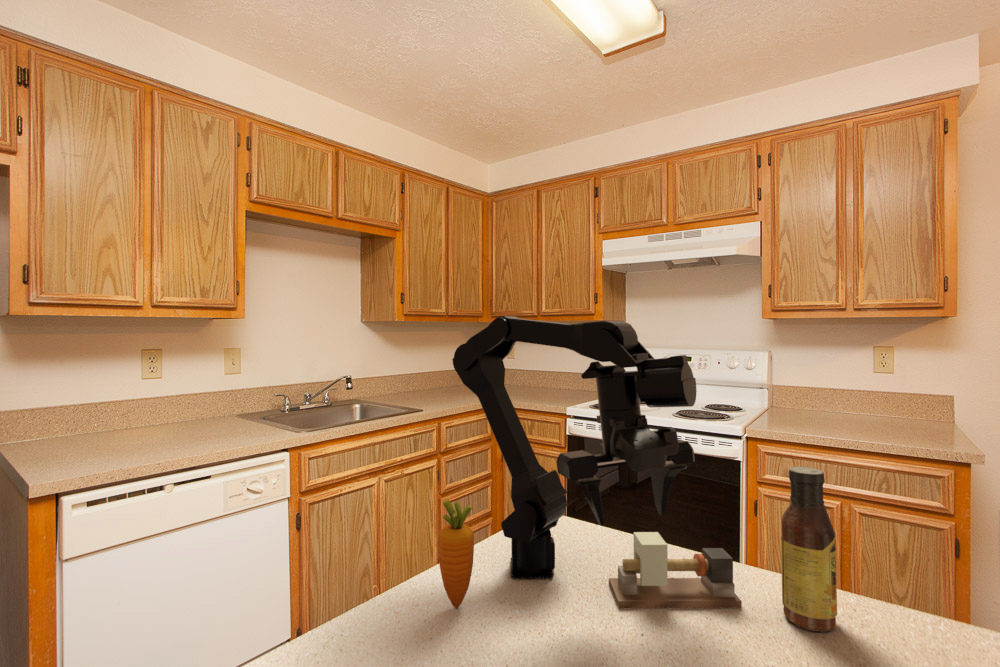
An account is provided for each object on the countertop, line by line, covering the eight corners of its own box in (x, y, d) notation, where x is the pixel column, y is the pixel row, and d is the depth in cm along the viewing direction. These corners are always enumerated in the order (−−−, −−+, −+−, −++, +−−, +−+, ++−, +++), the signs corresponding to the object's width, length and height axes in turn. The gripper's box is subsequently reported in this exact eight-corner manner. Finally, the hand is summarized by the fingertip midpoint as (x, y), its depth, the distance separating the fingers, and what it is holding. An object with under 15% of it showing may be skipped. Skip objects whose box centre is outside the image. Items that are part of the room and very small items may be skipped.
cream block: (641, 585, 70) (641, 544, 70) (633, 570, 75) (633, 532, 75) (667, 585, 70) (667, 544, 70) (657, 570, 75) (657, 532, 75)
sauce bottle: (846, 637, 63) (846, 479, 62) (791, 631, 64) (791, 476, 64) (823, 609, 69) (823, 465, 69) (774, 604, 70) (774, 463, 70)
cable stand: (618, 608, 69) (618, 563, 69) (608, 584, 76) (608, 543, 76) (741, 608, 69) (741, 563, 69) (721, 584, 76) (721, 543, 76)
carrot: (481, 607, 70) (481, 500, 70) (455, 622, 66) (454, 509, 66) (457, 594, 73) (457, 492, 73) (431, 608, 70) (430, 500, 70)
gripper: (578, 421, 62) (592, 550, 61) (712, 404, 66) (726, 525, 65) (550, 414, 72) (561, 523, 72) (666, 400, 76) (678, 503, 76)
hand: (631, 519), depth 71 cm, fingers open, 9 cm apart
